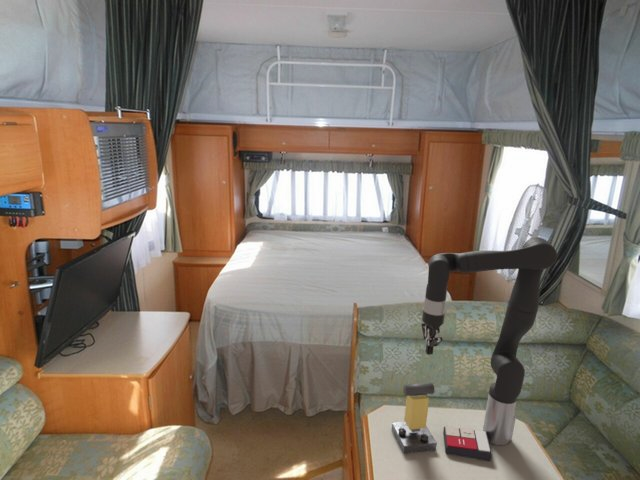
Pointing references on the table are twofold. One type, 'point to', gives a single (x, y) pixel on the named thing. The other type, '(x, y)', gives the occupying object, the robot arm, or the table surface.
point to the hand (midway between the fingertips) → (429, 353)
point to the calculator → (467, 443)
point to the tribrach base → (413, 438)
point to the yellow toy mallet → (417, 405)
